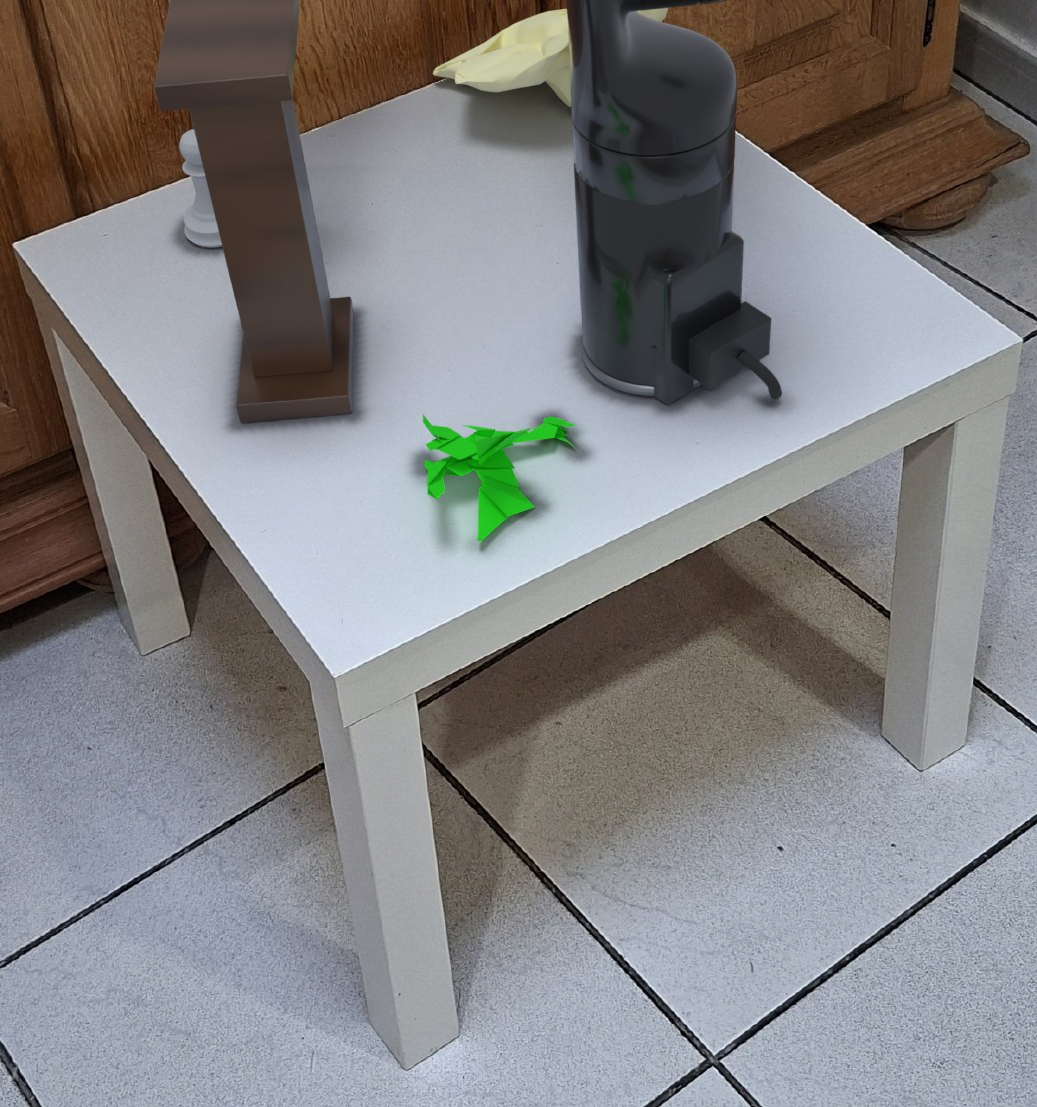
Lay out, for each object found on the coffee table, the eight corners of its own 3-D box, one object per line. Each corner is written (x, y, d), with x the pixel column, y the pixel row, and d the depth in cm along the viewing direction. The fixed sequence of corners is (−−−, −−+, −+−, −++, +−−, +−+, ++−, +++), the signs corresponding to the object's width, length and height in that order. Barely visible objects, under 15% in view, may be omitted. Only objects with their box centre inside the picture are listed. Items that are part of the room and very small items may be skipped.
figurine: (435, 459, 102) (581, 464, 101) (401, 547, 92) (564, 554, 91) (431, 366, 99) (581, 370, 98) (396, 446, 89) (564, 452, 88)
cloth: (427, 57, 131) (455, 129, 134) (438, 97, 114) (470, 179, 117) (687, -50, 130) (710, 25, 132) (737, -24, 113) (763, 61, 116)
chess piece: (196, 208, 118) (171, 111, 112) (258, 211, 117) (237, 113, 112) (176, 248, 115) (150, 149, 109) (241, 250, 114) (218, 152, 108)
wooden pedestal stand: (249, 322, 109) (170, -8, 91) (354, 313, 108) (295, -19, 91) (240, 423, 102) (153, 86, 85) (351, 414, 102) (287, 74, 84)
